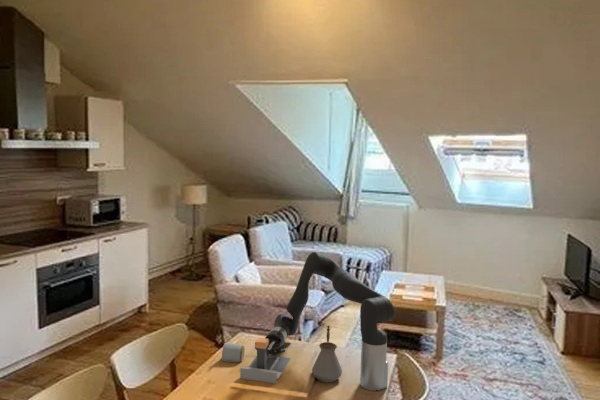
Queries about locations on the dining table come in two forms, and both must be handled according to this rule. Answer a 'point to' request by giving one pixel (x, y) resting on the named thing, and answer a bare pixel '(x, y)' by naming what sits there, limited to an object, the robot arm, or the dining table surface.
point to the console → (270, 375)
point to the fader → (262, 353)
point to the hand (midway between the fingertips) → (263, 356)
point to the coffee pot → (327, 362)
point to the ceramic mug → (232, 352)
